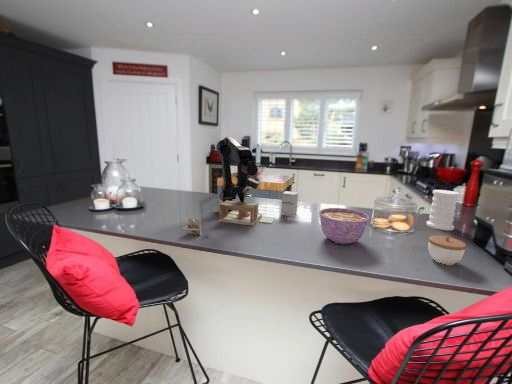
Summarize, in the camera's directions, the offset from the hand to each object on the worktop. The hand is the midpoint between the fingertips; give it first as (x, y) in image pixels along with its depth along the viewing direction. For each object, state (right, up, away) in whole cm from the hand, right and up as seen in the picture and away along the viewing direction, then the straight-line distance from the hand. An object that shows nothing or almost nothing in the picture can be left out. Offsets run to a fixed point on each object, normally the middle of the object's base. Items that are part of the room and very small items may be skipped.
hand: (242, 203), depth 134 cm
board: (0, -8, +2) cm, 8 cm away
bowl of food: (+43, -15, -24) cm, 51 cm away
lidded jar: (+74, -19, -40) cm, 87 cm away
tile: (+13, -9, 0) cm, 16 cm away
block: (0, -8, +4) cm, 9 cm away
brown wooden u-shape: (-2, -7, -4) cm, 8 cm away
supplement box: (+26, -7, +12) cm, 29 cm away
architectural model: (-20, -13, -21) cm, 32 cm away
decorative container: (+100, -12, -2) cm, 101 cm away
